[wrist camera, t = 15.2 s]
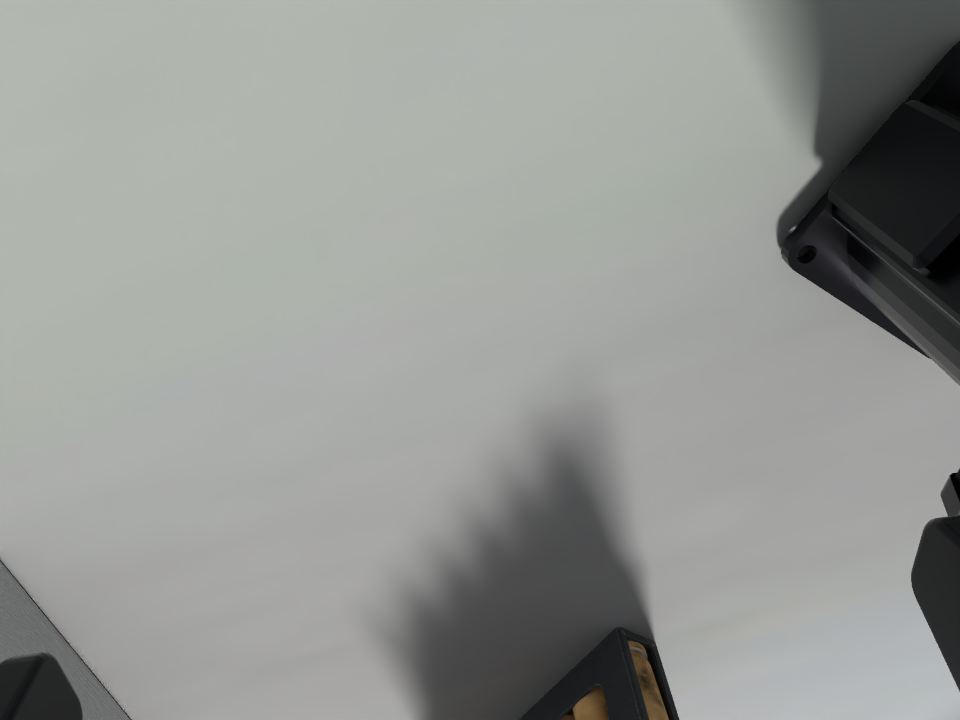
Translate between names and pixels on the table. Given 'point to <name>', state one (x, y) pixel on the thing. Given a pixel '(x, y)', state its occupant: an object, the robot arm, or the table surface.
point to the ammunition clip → (611, 685)
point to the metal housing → (48, 648)
